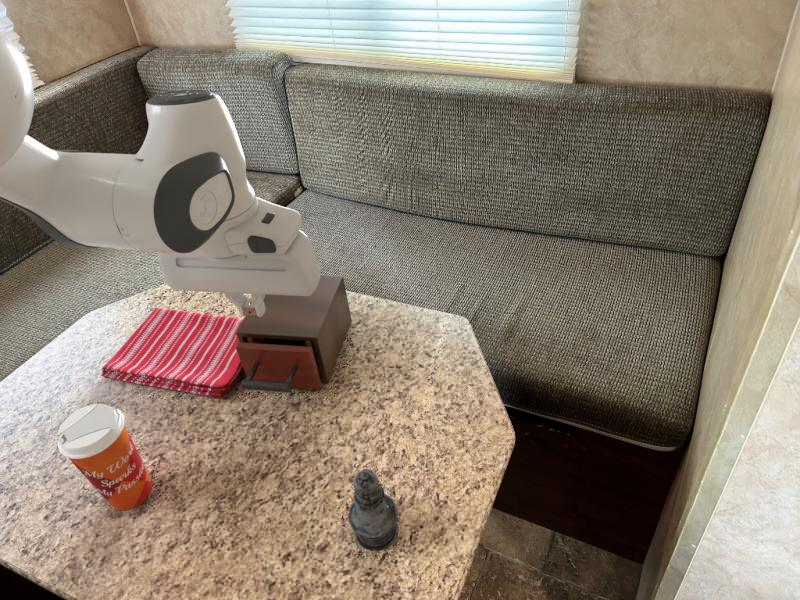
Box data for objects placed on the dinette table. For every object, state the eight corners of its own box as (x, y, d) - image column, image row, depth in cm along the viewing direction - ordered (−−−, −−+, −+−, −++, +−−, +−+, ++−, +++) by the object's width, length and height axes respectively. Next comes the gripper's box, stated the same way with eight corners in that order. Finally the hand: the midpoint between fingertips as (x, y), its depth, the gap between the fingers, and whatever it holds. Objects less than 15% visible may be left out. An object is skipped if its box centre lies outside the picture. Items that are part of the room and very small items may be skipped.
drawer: (309, 415, 87) (298, 377, 82) (236, 408, 89) (221, 372, 85) (342, 329, 101) (334, 292, 96) (278, 325, 103) (267, 289, 98)
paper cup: (112, 529, 77) (63, 463, 68) (93, 490, 82) (45, 424, 73) (170, 492, 80) (130, 424, 71) (148, 457, 85) (108, 390, 76)
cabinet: (328, 383, 93) (316, 337, 87) (252, 377, 95) (235, 332, 89) (351, 320, 104) (342, 275, 98) (282, 316, 106) (270, 273, 100)
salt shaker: (346, 548, 72) (329, 490, 64) (360, 504, 76) (345, 445, 69) (394, 557, 70) (382, 499, 63) (405, 512, 75) (396, 452, 67)
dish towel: (228, 402, 92) (223, 390, 90) (100, 380, 98) (93, 369, 97) (276, 327, 104) (272, 315, 103) (159, 312, 111) (154, 301, 109)
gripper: (133, 238, 72) (172, 324, 80) (296, 242, 68) (318, 333, 76) (159, 210, 76) (193, 294, 85) (312, 212, 72) (332, 301, 81)
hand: (253, 313), depth 81 cm, fingers closed
